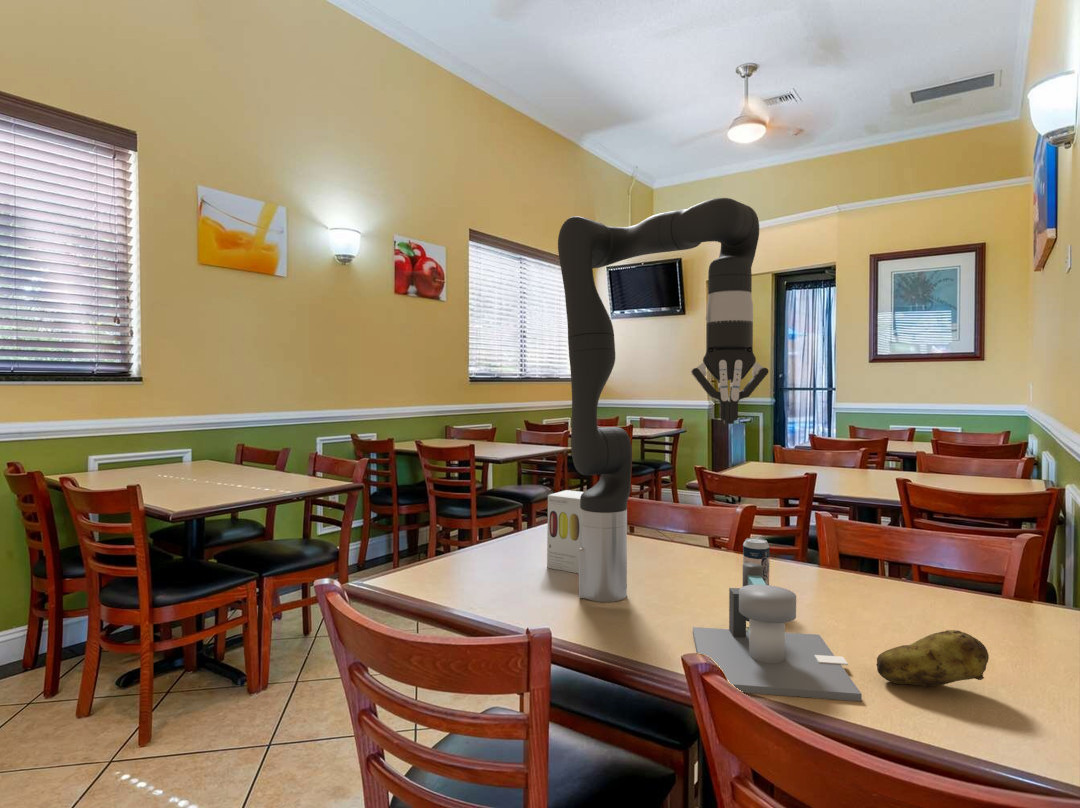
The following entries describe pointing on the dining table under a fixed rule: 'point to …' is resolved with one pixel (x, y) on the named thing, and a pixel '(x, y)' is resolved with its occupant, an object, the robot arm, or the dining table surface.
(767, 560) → the beer can
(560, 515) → the supplement box
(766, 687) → the post base
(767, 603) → the lever
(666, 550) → the dining table surface
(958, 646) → the potato
